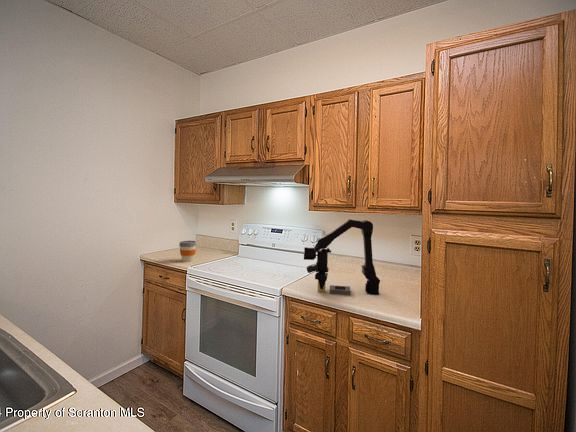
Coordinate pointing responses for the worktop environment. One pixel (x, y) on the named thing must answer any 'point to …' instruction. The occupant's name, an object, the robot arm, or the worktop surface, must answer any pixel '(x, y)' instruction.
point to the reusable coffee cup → (187, 250)
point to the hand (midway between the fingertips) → (321, 287)
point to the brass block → (321, 289)
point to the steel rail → (340, 290)
